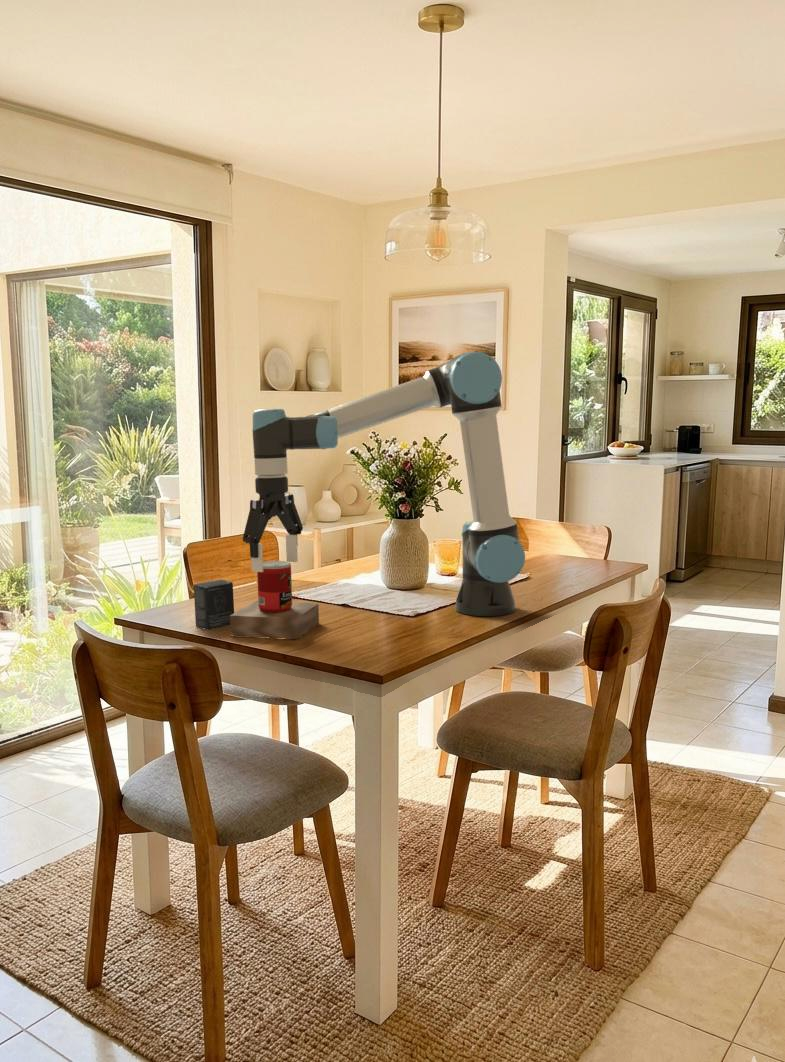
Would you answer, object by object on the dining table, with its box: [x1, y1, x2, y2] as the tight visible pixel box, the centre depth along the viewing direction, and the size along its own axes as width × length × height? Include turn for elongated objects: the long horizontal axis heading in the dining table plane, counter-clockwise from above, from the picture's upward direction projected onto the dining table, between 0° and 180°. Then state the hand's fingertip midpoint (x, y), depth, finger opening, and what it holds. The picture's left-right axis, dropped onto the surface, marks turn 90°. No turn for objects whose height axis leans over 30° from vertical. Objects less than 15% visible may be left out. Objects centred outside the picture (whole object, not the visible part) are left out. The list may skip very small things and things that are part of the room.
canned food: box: [256, 560, 293, 613], centre depth 215 cm, size 8×8×11 cm
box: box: [193, 579, 235, 630], centre depth 221 cm, size 8×6×11 cm
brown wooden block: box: [229, 600, 320, 640], centre depth 216 cm, size 16×16×5 cm
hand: (275, 566), depth 215 cm, fingers open, 13 cm apart
